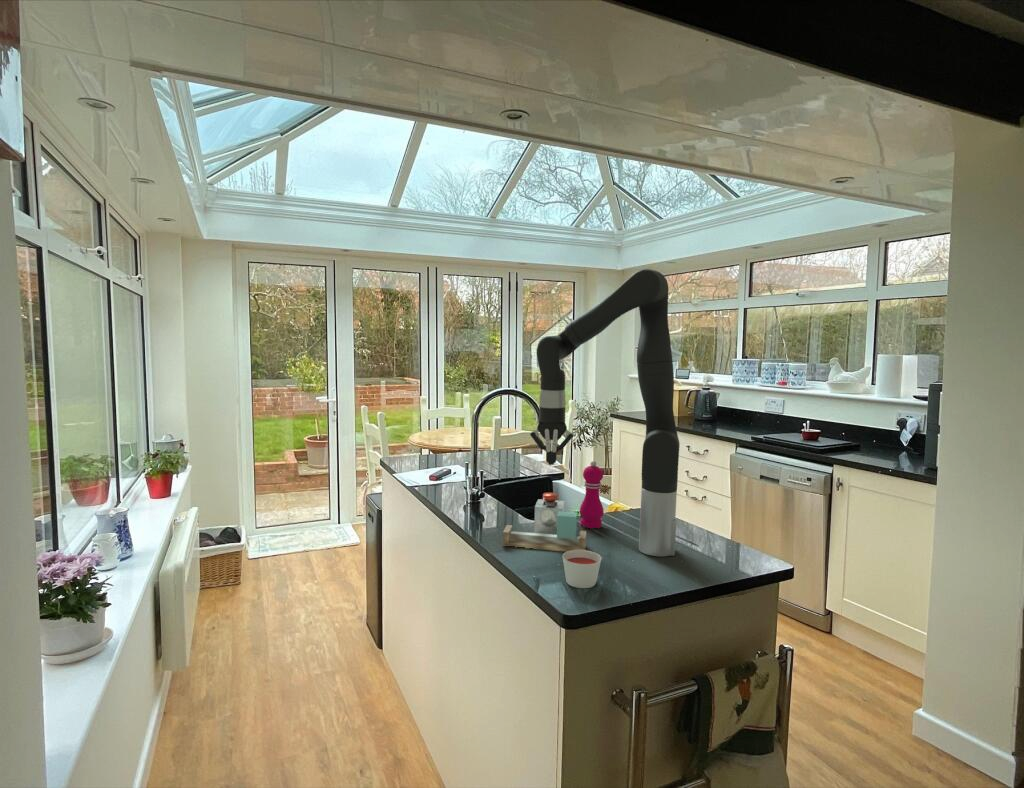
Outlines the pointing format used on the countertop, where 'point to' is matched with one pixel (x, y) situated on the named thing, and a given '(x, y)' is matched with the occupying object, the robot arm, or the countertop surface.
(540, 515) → the gauge cabinet
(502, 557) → the countertop surface
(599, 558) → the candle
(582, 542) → the rail
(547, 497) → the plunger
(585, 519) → the pepper mill
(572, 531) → the teal block
